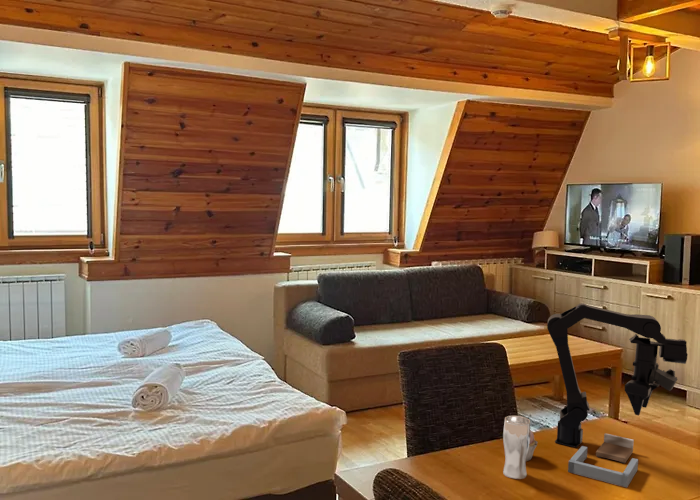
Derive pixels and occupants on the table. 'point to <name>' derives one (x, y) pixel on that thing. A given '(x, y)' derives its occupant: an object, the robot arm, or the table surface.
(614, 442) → the l-shaped bracket
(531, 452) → the cupcake
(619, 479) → the bay
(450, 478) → the table surface
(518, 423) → the beer glass
